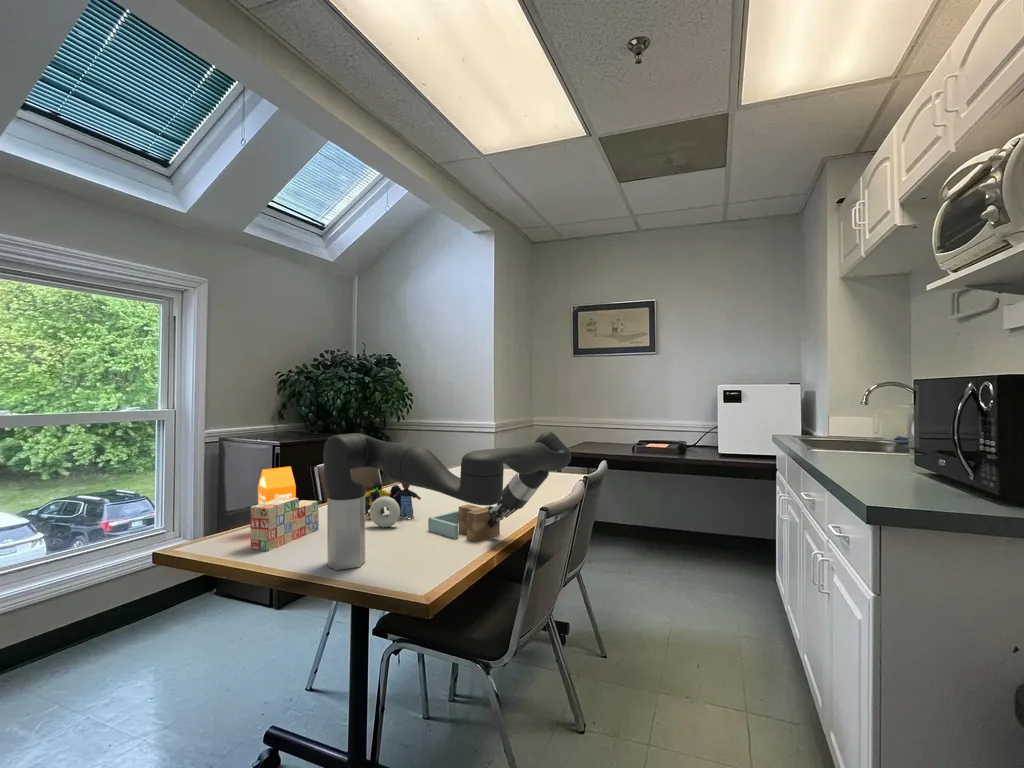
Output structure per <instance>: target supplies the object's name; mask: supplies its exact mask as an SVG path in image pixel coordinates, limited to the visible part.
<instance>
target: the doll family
mask: <svg viewBox="0 0 1024 768" xmlns="http://www.w3.org/2000/svg"><path fill="white" fill-rule="evenodd" d="M400 484H401V485H402V488H403V489H402V488H401V487H400V485H398V484H395V485H393V486H391V489H390V490H389V491H388V490H385V489H384V488H383V483H382V482H380V481H376V482H374V484H373V483H368V484H365V515H367V514H370V507H371V505H372V503H373V502H374V501H375V500H376V499H378V498H380V497H384V496H387V497H391V498H393V499H394V500H395V501H396V502H397V503H398V505H399V507H400V515H401V516H400V517H402V518H405V517H407V519H408V518H412V519H414V518H415V516H414V506H413V499H416V500H417V499H418V501H420V500H421V499H422V497H420V496H419V495H418V494H417V493H416V492H414V491H412V490H410V489H409V488H410V486H411V485H407V484H403V483H400ZM412 498H413V499H412ZM385 508H386V510H387V511H389V509H388V508H387V507H382V508H381V511H380V512H381V515H382V516H384V517H385V514H386V513H385ZM405 519H406V518H405Z"/></svg>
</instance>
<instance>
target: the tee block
mask: <svg viewBox="0 0 1024 768" xmlns="http://www.w3.org/2000/svg"><path fill="white" fill-rule="evenodd" d="M490 506H491V505H489V506H485V507H483V506H482V507H481V506H479V505H474V504H470V503H468V504H463V505H459V506H458V510H459V524H458V533H460V532H461V533H460V534H463V533H464V535H466V540H468V539H469V541H471V542H475V541H476V543H478V542H479V541H484V540H485V539H489V538H492V537H494V536H497V535H498V536H499V535H500V530H501V529H500V527H501V525H500V524H501V523H500V522H501V520H500V521H499V522H498V524H497V525H496V526H495V527H492V528H490V526H489V525H488V521H489V520H490V518H491V517H490V515H489V511H488V508H489V507H490Z"/></svg>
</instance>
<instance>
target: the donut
mask: <svg viewBox="0 0 1024 768" xmlns="http://www.w3.org/2000/svg"><path fill="white" fill-rule="evenodd" d="M382 507H384V508H386V507H387V508H388V509H389V513H388V516H387V515H386V516H385V515H384V516H382V515H383V514H382V515H381V512H380V511H381V508H382ZM369 512H370V515H369V516H370V519H371V521H372V522H373V523H374V525H377V526H378V527H380V528H384V527H385V528H391V526H394V525H395V524H396V523H397V522H398V520H399V519H400V517H401V516H400V507H399V505H398V503H397V502H396V501H395V500H394V499H393V498H391V497H387V496H384V497H380V498H378V499H376V500H375V501H374V502H373V503H372V505H371V507H370V509H369Z"/></svg>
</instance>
